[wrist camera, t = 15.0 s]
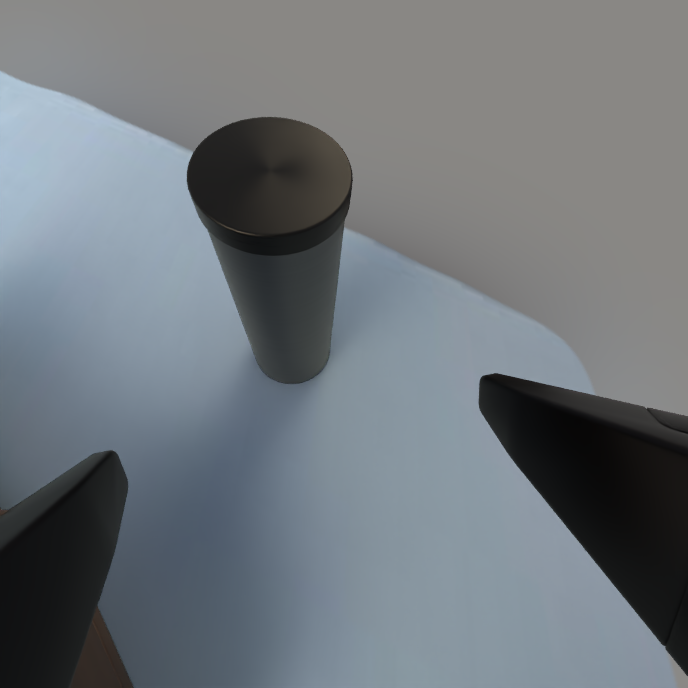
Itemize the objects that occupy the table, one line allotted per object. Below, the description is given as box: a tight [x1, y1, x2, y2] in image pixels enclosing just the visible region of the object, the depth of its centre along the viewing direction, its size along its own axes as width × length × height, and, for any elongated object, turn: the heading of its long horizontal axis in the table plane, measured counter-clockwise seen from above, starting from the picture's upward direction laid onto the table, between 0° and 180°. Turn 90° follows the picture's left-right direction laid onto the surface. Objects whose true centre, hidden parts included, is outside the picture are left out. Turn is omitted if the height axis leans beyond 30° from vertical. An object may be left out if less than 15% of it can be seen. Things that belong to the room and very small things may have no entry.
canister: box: [187, 117, 353, 384], centre depth 16 cm, size 5×5×13 cm
